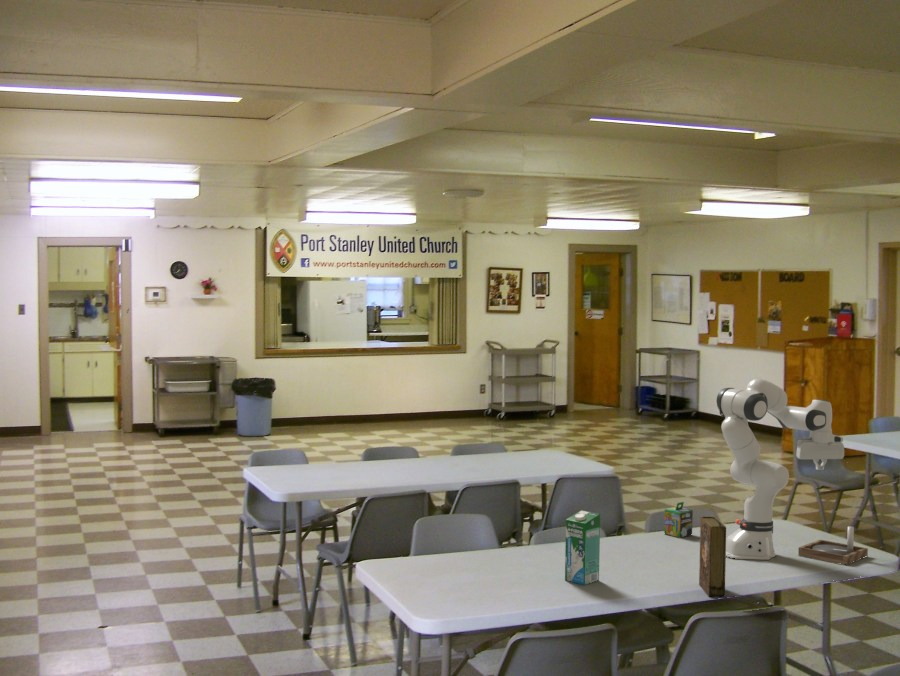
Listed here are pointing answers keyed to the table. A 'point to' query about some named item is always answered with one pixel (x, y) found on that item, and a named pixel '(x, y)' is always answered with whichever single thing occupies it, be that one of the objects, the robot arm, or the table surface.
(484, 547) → the table surface
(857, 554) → the dial housing
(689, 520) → the chalk box
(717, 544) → the book
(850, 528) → the dial
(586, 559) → the milk carton
